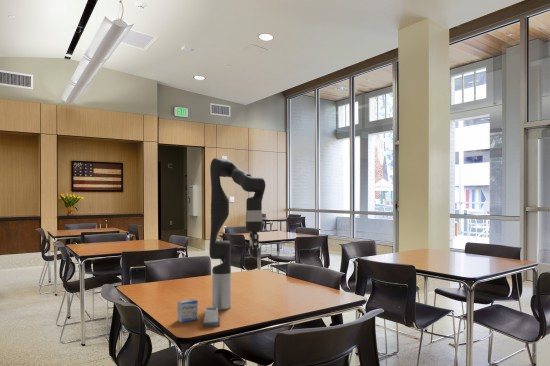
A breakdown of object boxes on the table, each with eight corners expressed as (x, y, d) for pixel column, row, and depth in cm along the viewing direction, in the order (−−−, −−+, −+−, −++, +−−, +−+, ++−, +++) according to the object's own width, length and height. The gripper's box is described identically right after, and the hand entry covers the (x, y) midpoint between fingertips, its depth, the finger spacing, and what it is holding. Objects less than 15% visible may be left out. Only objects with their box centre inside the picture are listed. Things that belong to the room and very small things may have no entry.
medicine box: (181, 323, 170) (181, 303, 170) (177, 320, 173) (177, 301, 174) (197, 320, 174) (197, 300, 175) (193, 317, 178) (193, 298, 178)
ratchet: (203, 316, 179) (203, 307, 179) (219, 315, 180) (219, 307, 180) (203, 327, 164) (203, 317, 164) (219, 326, 165) (219, 316, 166)
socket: (204, 318, 171) (204, 307, 171) (217, 318, 172) (217, 306, 172) (204, 322, 165) (204, 310, 165) (218, 322, 166) (218, 310, 166)
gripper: (264, 221, 171) (264, 258, 170) (260, 219, 185) (260, 253, 184) (247, 221, 170) (247, 258, 169) (244, 219, 184) (244, 254, 183)
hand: (254, 256), depth 177 cm, fingers open, 8 cm apart
